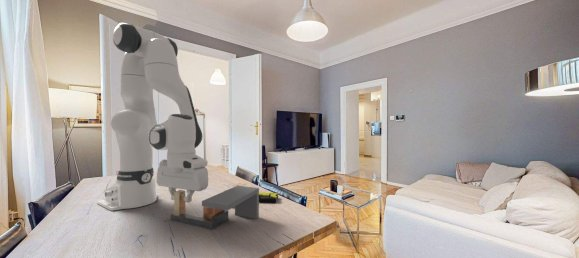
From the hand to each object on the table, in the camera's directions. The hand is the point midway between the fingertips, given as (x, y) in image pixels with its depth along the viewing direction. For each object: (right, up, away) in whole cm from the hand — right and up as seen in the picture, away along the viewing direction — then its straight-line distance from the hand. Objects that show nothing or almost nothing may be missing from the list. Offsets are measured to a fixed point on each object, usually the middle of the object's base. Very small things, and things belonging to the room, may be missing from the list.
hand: (181, 200), depth 73 cm
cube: (+11, -7, 0) cm, 13 cm away
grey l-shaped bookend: (+19, -7, -4) cm, 21 cm away
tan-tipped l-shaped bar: (+6, -7, 0) cm, 9 cm away
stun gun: (+23, -7, +17) cm, 29 cm away
